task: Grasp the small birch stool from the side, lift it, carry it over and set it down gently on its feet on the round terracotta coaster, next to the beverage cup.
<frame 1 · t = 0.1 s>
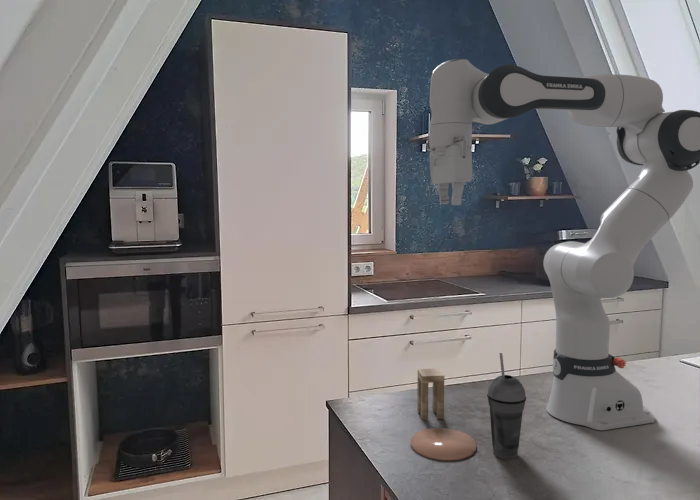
hand: (450, 204, 117), 48 cm above the counter, tool pointing down, fingers open, 8 cm apart
coaster: (443, 444, 110), on the counter
beverage cup: (505, 454, 106), on the counter
stool: (430, 414, 125), on the counter
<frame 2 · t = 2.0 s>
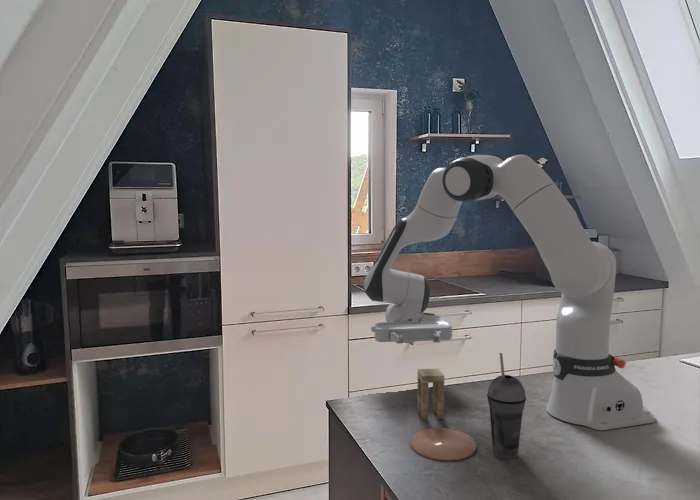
hand: (418, 339, 135), 14 cm above the counter, tool horizontal, fingers open, 8 cm apart
nothing on the counter moved.
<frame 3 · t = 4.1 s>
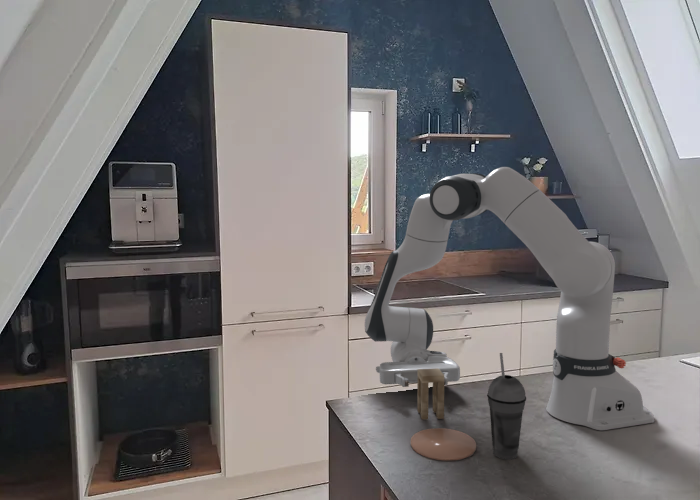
hand: (425, 382, 130), 5 cm above the counter, tool horizontal, fingers open, 8 cm apart
nothing on the counter moved.
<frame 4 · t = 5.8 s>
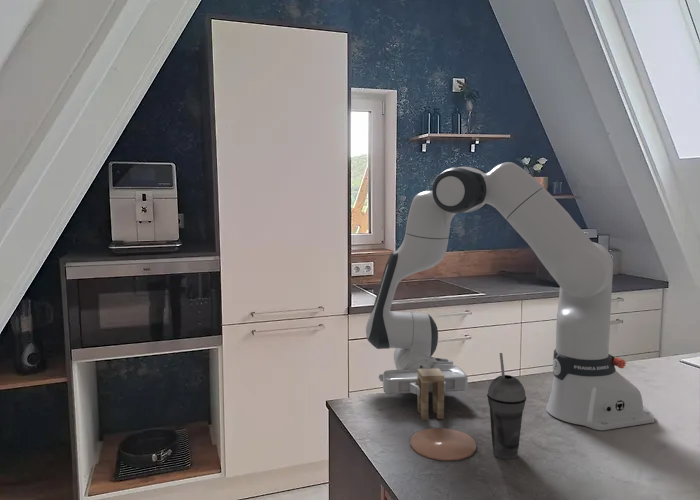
hand: (431, 392, 123), 6 cm above the counter, tool horizontal, fingers closed on stool, 3 cm apart
stool: (430, 414, 125), on the counter, touching gripper
everything else where it was.
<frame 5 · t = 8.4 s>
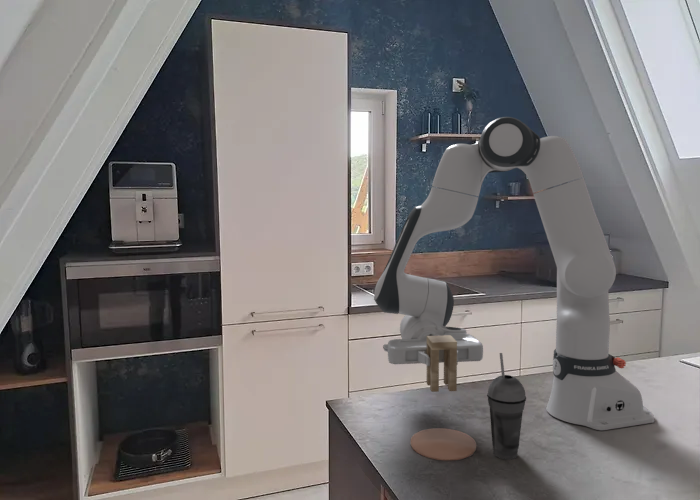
hand: (442, 361, 109), 17 cm above the counter, tool horizontal, fingers closed on stool, 3 cm apart
stool: (441, 386, 111), point 11 cm above the counter, touching gripper
everything else where it was.
when the fingers open (7 cm above the counter, at t = 10.7 s): stool drops 1 cm, resting on coaster.
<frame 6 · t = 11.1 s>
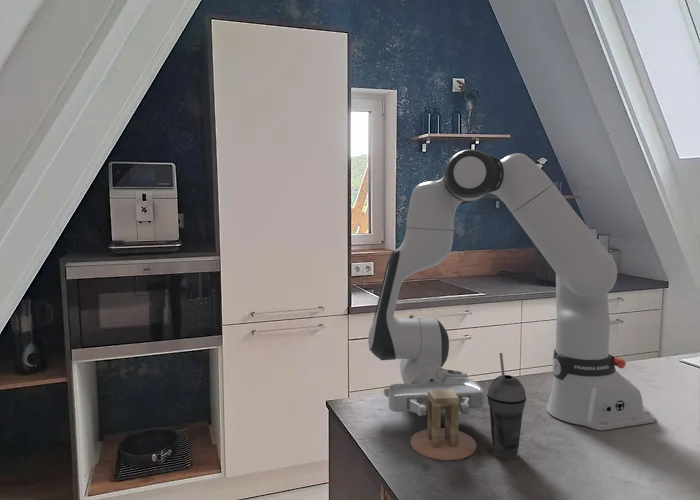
hand: (444, 411, 108), 7 cm above the counter, tool horizontal, fingers open, 7 cm apart
stool: (442, 441, 110), point 1 cm above the counter, touching coaster
everything else where it was.
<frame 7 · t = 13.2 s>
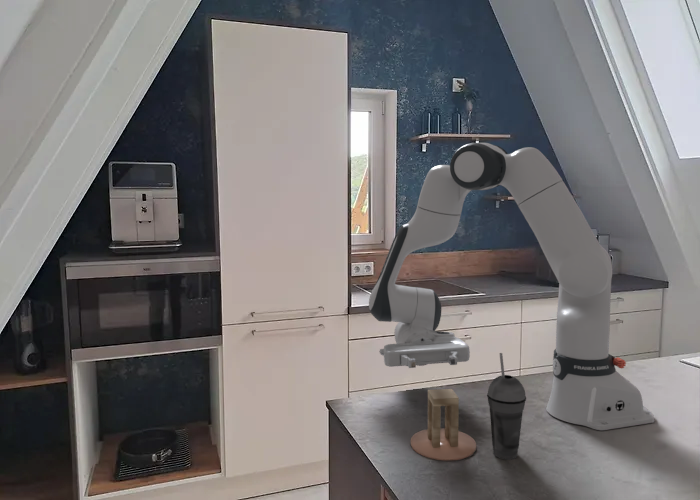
hand: (433, 363, 122), 13 cm above the counter, tool horizontal, fingers open, 8 cm apart
nothing on the counter moved.
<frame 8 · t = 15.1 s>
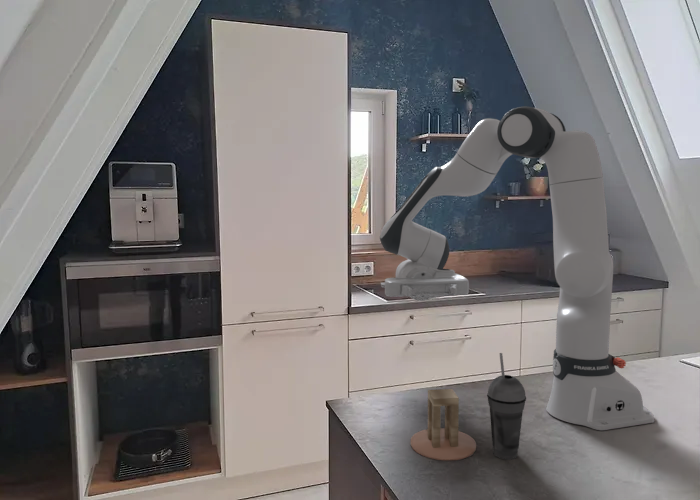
hand: (433, 292, 124), 28 cm above the counter, tool horizontal, fingers open, 8 cm apart
nothing on the counter moved.
at the end: stool inside the target area on the coaster (0.2 cm from its centre), point 0.6 cm above the coaster's base; stool tilted 0°; the gripper is holding nothing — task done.
